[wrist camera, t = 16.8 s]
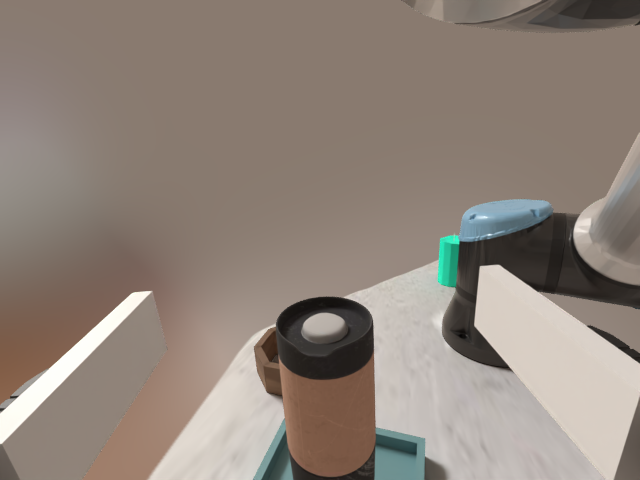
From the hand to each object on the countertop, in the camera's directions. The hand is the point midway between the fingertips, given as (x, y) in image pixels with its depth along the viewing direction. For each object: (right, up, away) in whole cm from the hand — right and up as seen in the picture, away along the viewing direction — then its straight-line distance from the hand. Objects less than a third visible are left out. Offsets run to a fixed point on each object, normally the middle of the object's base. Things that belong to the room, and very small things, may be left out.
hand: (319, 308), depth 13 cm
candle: (+31, -7, +63) cm, 71 cm away
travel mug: (+2, -22, +18) cm, 29 cm away
